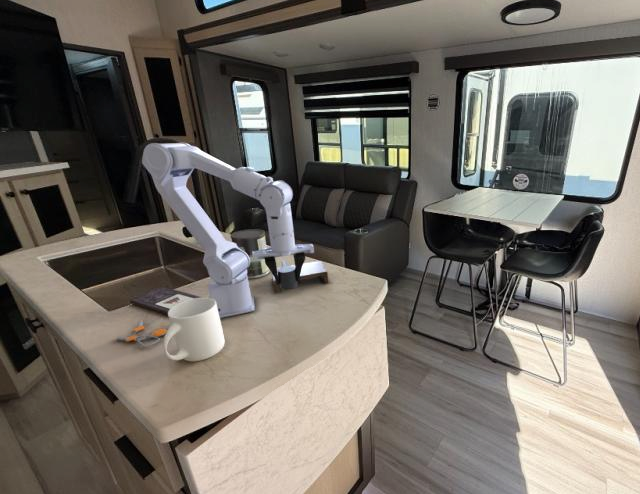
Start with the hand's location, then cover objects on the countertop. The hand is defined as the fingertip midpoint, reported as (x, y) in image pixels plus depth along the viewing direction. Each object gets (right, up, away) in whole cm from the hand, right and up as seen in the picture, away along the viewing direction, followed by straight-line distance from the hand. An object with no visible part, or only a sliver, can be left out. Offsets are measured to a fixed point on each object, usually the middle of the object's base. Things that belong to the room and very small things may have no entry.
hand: (287, 281), depth 83 cm
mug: (-14, -14, -15) cm, 25 cm away
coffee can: (-21, +1, +26) cm, 33 cm away
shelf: (-3, -2, +19) cm, 20 cm away
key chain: (-31, -12, -8) cm, 34 cm away
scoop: (-1, -1, +3) cm, 3 cm away
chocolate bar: (-36, -6, +7) cm, 37 cm away
